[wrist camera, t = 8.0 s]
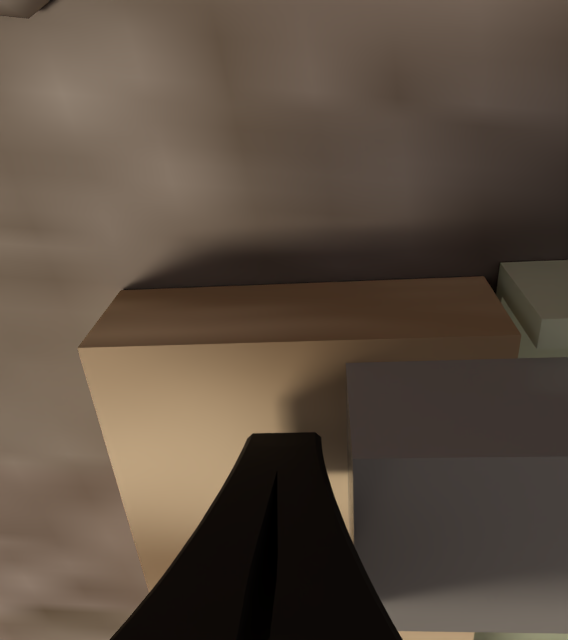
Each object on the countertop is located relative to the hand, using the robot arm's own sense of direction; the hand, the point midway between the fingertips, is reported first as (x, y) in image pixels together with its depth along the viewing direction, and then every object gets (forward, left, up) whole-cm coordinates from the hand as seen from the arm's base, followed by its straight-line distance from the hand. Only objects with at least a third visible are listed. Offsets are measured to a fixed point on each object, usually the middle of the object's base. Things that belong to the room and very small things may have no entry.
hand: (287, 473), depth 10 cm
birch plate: (-5, 0, -3) cm, 6 cm away
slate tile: (0, -3, -1) cm, 3 cm away
